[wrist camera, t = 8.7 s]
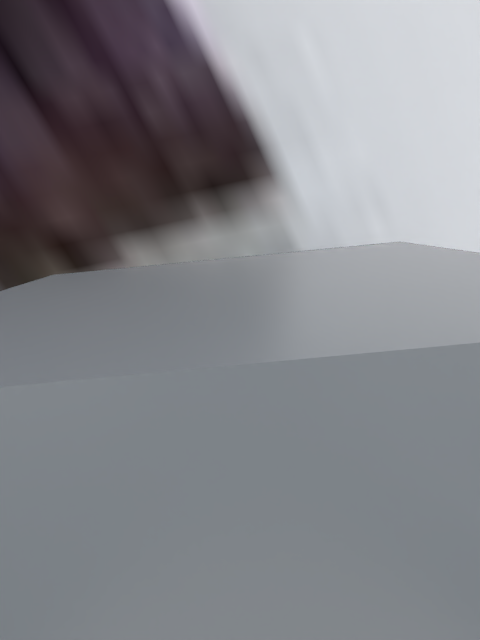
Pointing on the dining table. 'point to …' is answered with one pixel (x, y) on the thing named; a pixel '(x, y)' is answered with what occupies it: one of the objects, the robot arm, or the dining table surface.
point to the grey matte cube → (244, 449)
